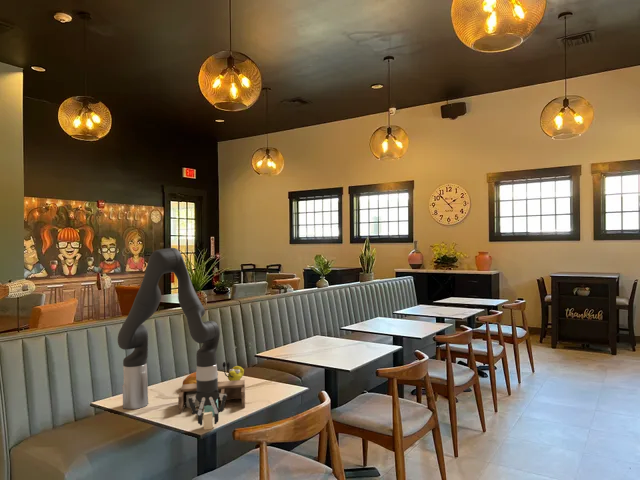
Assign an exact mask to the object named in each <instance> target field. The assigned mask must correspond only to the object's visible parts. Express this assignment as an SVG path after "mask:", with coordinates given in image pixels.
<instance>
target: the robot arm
mask: <svg viewBox="0 0 640 480" xmlns="http://www.w3.org/2000/svg"><path fill="white" fill-rule="evenodd" d="M168 273H173V274H174V275H175V277H176V279H177V284H178V291H177V300H178V303H179V306H180V308H181V309H182V312H183V313H184V316H185V317H186V320H187V326H188V329H189V334H190V337H191V338H192V339H193V341H194V342H196V343H198V344H202V346H201V347H200V348H199V349H197V350H196V354H195V356H196V370H195V372H196V382H197V393H196V395H195V396H193V397H192V396H190V397H189V399H188V401H189V404H190V407H189V408H190V409H191V412H192V413H191V414H193V415H196V416H197V423H198V425H199V426H203V413H202V409H203V406H207V405H209V406H211V405H212V407H213V409H214V412H215V413H214V416H213V425H217V423H219V419H220V418H219V414H220V413H222V412H223V411H224V410H225V408H224V405H225V406H226V401H227V400H226V396H227V394H220V393H219V391H218V382H219V381H218V380H219V379H218V378H219V377H218V375H219V374H218V365H217V349H218V346H219V342H220V335H221V334H220V333H221V331H220V326H219V325H218V323H217V322H216V321H215V320H207V321H203V319H202V317H203V316H204V315H206V310H205V307H204V305H203V303H202V302H201V300H200V298H199V296H198V294H197V292H196V290H195V288H194V286H193V283H192V279H191V278H190V274H189V271H188V268H187V266H186V263H185V260H184V257H183V255H182V253H181V251H179V250H178V249H177V248H176V247H167V248H161V249H156V250H153V251H152V253H151V254H150V256H149V258H148V261H147V264H146V268H145V271H144V276H143V279H142V281H141V284H140V286H139V289H138V291H137V293H136V296H135V298H134V301H133V304H132V306H131V308H130V310H129V313H128V315H127V317H126V318H125V320H124V322H123V324H122V326H121V327H120V329H119V332H118V333H117V344H118V347H119V348H120V349H122V350H124V351H127V350H132V352H130V354H128V355H126V357H124V358H123V360H122V368H123V384H122V387H121V389H122V408H123V409H127V410H135V409H140V408H144V407H146V406H148V404H149V387H148V357H149V333H148V329H147V327H146V326H145V325H144V324H143V323H146V322H147V321H148V319H150V318H151V317H152V316H153V315H154V314H155V313H156V312H157V309H158V307H159V305H160V303H161V300H162V293H161V292H162V291H161V289H160V286H159V282H160V279H161V277H162V276H163V275H164V274H168ZM133 349H134V350H133ZM218 397H220V400H219V401H220V406H218V407H217V403H216V400H217V399H218ZM195 399H197V400H198V401H199V403H200V406H198V409H197V407H195V404H194V402H195ZM221 400H222V402H221ZM223 409H224V410H223Z"/></svg>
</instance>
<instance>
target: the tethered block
mask: <svg viewBox="0 0 640 480" xmlns="http://www.w3.org/2000/svg"><path fill="white" fill-rule="evenodd" d="M216 403H217V407H218V408H219V400H218V399H217V400H216ZM214 413H215V412H214V409H213V407H212V405H211V406H209V405H207V406H204V410H203V414H202V422H203V430H212V429H213V427H214Z"/></svg>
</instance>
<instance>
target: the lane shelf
mask: <svg viewBox="0 0 640 480" xmlns="http://www.w3.org/2000/svg"><path fill="white" fill-rule="evenodd" d="M245 382H246V381H245V379H240V380H236V381H229V380H226V381H225V380H223V381H218V391H219V393H220V394H227V396H226V401H227V400H228V401H229V400H238V399H241V409H245V408H246V383H245ZM189 391H197V383H196V384H183V383H182V386H181V387H180V392H179V394H178V396H177V398H178V402H177V403H178V414H183V411H184V409H185V407H186V405H187V402H186V395H187V392H189ZM218 401H220V403H221V402H222V400H220V397H218ZM225 406H226V404H225V405H224V409H223V411H224V410H225V408H226V407H225ZM202 412H203V413H204V406H203V409H202Z"/></svg>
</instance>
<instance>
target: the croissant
mask: <svg viewBox="0 0 640 480" xmlns="http://www.w3.org/2000/svg"><path fill="white" fill-rule="evenodd" d="M196 383H197V382H196V371H195V372H194V371H193V372H192V373H189V375H187V376H186V377H185V378H184V379H183V381H182V385H183V384H196Z"/></svg>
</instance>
